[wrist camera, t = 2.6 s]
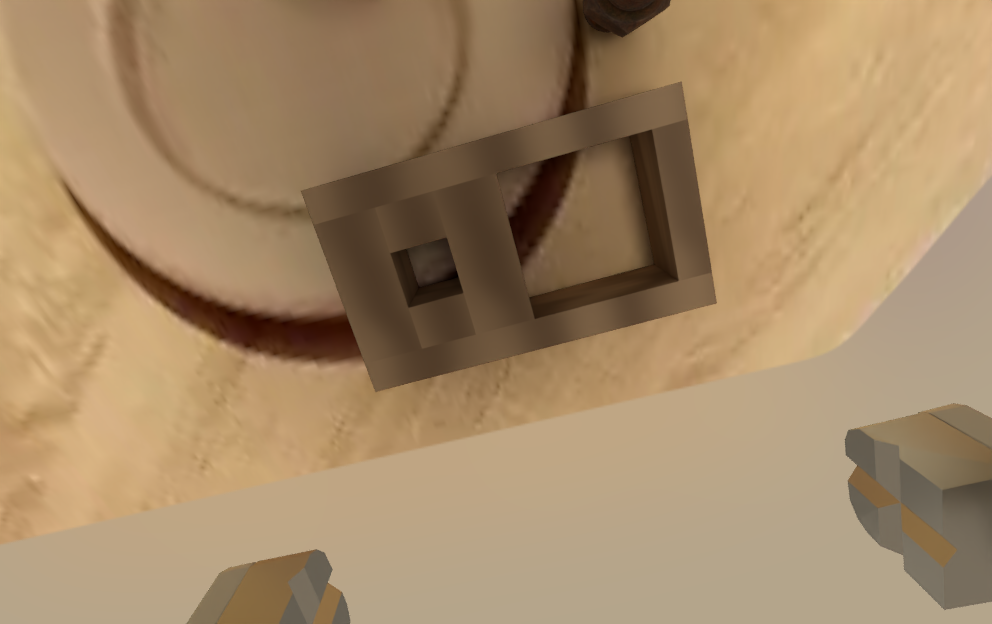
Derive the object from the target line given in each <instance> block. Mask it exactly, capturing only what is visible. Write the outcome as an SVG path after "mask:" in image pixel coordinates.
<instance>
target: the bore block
mask: <svg viewBox="0 0 992 624" xmlns="http://www.w3.org/2000/svg"><path fill="white" fill-rule="evenodd" d="M626 136H630V139H631V145H632V150H633V155H634V160H635V166H636V171H637V176H638V181H639V187H640V192H641V197H642V203H643V208H644V213H645V218H646V224H647V229H648V234H649V239H650V245H651V250H652V255H653V261H654V265H651V266H647V267H643V268H639V269H636V270H632V271H628V272H624V273H621V274H617V275H613V276H609V277H606V278H602V279H598V280H594V281H591V282H587V283H583V284H579V285H575V286H572V287H568V288H564V289H560V290H557V291H553V292H549V293H545V294H542V295H538V296H534V297H530V298H529V296H528V292H527V288H526V284H525V280H524V277H523V273H522V269H521V265H520V261H519V258H518V254H517V250H516V246H515V243H514V239H513V235H512V231H511V227H510V224H509V220H508V216H507V212H506V208H505V205H504V201H503V197H502V193H501V190H500V186H499V182H498V178H497V174H496V173H499V172H503V171H506V170H510V169H513V168H517V167H520V166H524V165H527V164H531V163H534V162H538V161H542V160H545V159H549V158H552V157H556V156H559V155H563V154H566V153H570V152H573V151H577V150H580V149H584V148H588V147H591V146H595V145H598V144H602V143H605V142H609V141H612V140H616V139H619V138H623V137H626ZM301 193H302V195H303V198H304V201H305V203H306V206H307V209H308V211H309V214H310V217H311V220H312V222H313V225H314V228H315V230H316V233H317V236H318V238H319V241H320V244H321V247H322V249H323V252H324V255H325V257H326V260H327V263H328V265H329V268H330V271H331V273H332V276H333V279H334V282H335V284H336V287H337V290H338V292H339V295H340V298H341V300H342V303H343V306H344V309H345V311H346V314H347V317H348V319H349V322H350V325H351V327H352V330H353V333H354V335H355V338H356V341H357V344H358V346H359V349H360V352H361V354H362V357H363V360H364V362H365V365H366V368H367V370H368V373H369V376H370V379H371V381H372V384H373V387H374V389H375V392H377V391H381V390H385V389H388V388H392V387H396V386H400V385H404V384H408V383H411V382H415V381H419V380H423V379H427V378H431V377H435V376H438V375H442V374H446V373H450V372H454V371H458V370H462V369H465V368H469V367H473V366H477V365H481V364H485V363H489V362H492V361H496V360H500V359H504V358H508V357H512V356H516V355H519V354H523V353H527V352H531V351H535V350H539V349H543V348H546V347H550V346H554V345H558V344H562V343H566V342H569V341H573V340H577V339H581V338H585V337H589V336H593V335H596V334H600V333H604V332H608V331H612V330H616V329H620V328H623V327H627V326H631V325H635V324H639V323H643V322H647V321H650V320H654V319H658V318H662V317H666V316H670V315H674V314H677V313H681V312H685V311H689V310H693V309H697V308H701V307H704V306H708V305H712V304H716V303H717V302H716V296H715V289H714V283H713V277H712V270H711V264H710V258H709V252H708V245H707V239H706V233H705V226H704V220H703V214H702V207H701V201H700V195H699V188H698V182H697V176H696V169H695V163H694V157H693V150H692V144H691V138H690V132H689V125H688V119H687V113H686V106H685V100H684V94H683V87H682V82H678V83H675V84H671V85H668V86H664V87H661V88H657V89H654V90H650V91H647V92H643V93H640V94H637V95H633V96H630V97H626V98H623V99H619V100H616V101H612V102H609V103H605V104H602V105H598V106H595V107H591V108H588V109H584V110H581V111H577V112H574V113H570V114H567V115H563V116H560V117H556V118H553V119H550V120H546V121H543V122H539V123H536V124H532V125H529V126H525V127H522V128H518V129H515V130H511V131H508V132H504V133H501V134H497V135H494V136H490V137H487V138H483V139H480V140H476V141H473V142H469V143H466V144H463V145H459V146H456V147H452V148H449V149H445V150H442V151H438V152H435V153H431V154H428V155H424V156H421V157H417V158H414V159H410V160H407V161H403V162H400V163H396V164H393V165H389V166H386V167H382V168H379V169H376V170H372V171H369V172H365V173H362V174H358V175H355V176H351V177H348V178H344V179H341V180H337V181H334V182H330V183H327V184H323V185H320V186H316V187H313V188H309V189H306V190H302V191H301ZM443 238H447V239H448V243H449V246H450V249H451V253H452V256H453V259H454V263H455V266H456V269H457V273H458V276H459V277H458V278H454V279H450V280H447V281H443V282H439V283H436V284H432V285H428V286H425V287H421V288H419V287H418V284H417V281H416V278H415V275H414V272H413V269H412V266H411V263H410V259H409V256H408V253H407V250H406V249H407V248H411V247H414V246H418V245H421V244H425V243H429V242H432V241H436V240H439V239H443Z"/></svg>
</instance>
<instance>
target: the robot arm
mask: <svg viewBox="0 0 992 624" xmlns="http://www.w3.org/2000/svg"><path fill="white" fill-rule="evenodd" d="M845 448H846V456H848V457H849V458H850V459H851V460H852V461H853V462H854V463H855V464H857V467H856V468H855V470H854V471H853V473H852V475H851V476H850V478H849V480H848V487H849V495H850V501H851V503H852V506H853V508H854V510H855V513H856V515H857V518H858V520H859V521H860V523H861V524H862V525H863V527H864V528H865V530H866V531H867V533H868V534H869V535H870V536H871V537H872V538H873V539H874V540H875V541H876V542H877V543H878V544H879V545H880V546H882V547H884V548H887V549H889V550H892V551H894V552H897V553H899V554H902V555H903V556H904V570H905V571H906V572H907V573H908V574H909V575H910V576H911V577H912V578H913V579H914V580H915V581H916V582H917V583H918V584H919V585H920V586H921V587H922V588H923V589H924V590H925V591H926V592H927V593H928V594H929V595H930V596H931V597H932V598H933V599H934V600H935V601H936V602H937V603H938V604H939V605H940V606H941V607H942V608H943V609H944V610H946V609H951V608H957V607H963V606H969V605H974V604H980V603H986V602H991V601H992V418H990V417H988V416H986V415H984V414H983V413H981V412H979V411H977V410H975V409H973V408H971V407H969V406H967V405H960V404H954V403H953V404H950V405H946V406H942V407H938V408H934V409H930V410H926V411H922V412H919V413H918V414H915V415H911V416H906V417H902V418H898V419H894V420H889V421H885V422H881V423H876V424H872V425H868V426H864V427H859V428H855V429H851V430H848V432H847V436H846V439H845ZM331 572H332V567H331V565H330V563H329V561H328V559H327V557H326V555H325V553H324V552H321V551H319V550H311V551H306V552H301V553H297V554H292V555H287V556H282V557H277V558H272V559H267V560H262V561H258V562H253V563H248V564H244V565H239V566H235V567H230V568H228V569H226V570H224V571H222V572H221V573H219V575H218V576H217V578H216V579H215V581H214V582H213V584H212V586H211V587H210V588H209V590H208V592H207V593H206V595H205V596H204V598H203V599H202V601H201V602H200V604H199V605H198V607H197V608H196V610H195V611H194V613H193V615H192V616H191V618H190V619H189V621H188V622H187V624H350V617H349V612H348V608H347V603H346V601H345V598H344V596H343V593H342V592H341V591H340V590H338V589H336V588H335V587H334V586H332V585H331V584H329V583H328V580H329V578H330V575H331Z"/></svg>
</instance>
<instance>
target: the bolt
mask: <svg viewBox="0 0 992 624" xmlns="http://www.w3.org/2000/svg"><path fill="white" fill-rule="evenodd" d="M669 6H670V0H583V7H584V15H585V17H586V20H587V22H588V23H589V25H590V26H591V27H593V28H594V29H596V30H598V31H602V32H612V33H614V34H616V35H618V36H621V37H624V36H625V35H627V34H629V33H630V32H632V31H634V30H635V29H637V28H638V27H640V26H641V25H643V24H644V23H646V22H647V21H649V20H650V19H652V18H653V17H655V16H656V15H658V14H659V13H661V12H662V11H664V10H665V9H666V8H667V7H669Z"/></svg>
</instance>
